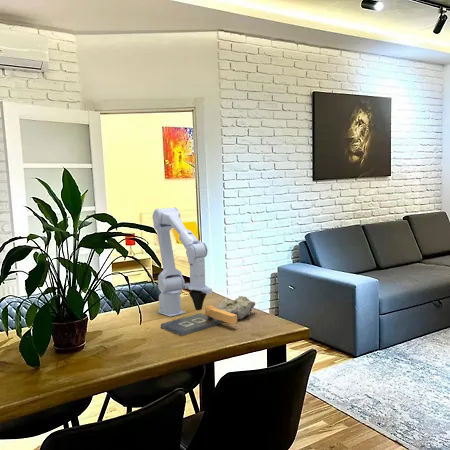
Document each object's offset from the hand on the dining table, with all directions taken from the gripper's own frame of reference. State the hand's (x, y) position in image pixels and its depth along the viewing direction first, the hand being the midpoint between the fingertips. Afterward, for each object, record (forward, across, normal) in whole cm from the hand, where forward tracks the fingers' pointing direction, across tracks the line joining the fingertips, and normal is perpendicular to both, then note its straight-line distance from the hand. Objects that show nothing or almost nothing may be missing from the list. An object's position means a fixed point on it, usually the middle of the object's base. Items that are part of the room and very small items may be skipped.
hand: (198, 309), depth 176 cm
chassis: (+6, -1, -3) cm, 7 cm away
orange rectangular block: (+3, +6, +5) cm, 9 cm away
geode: (+6, +2, +16) cm, 18 cm away
